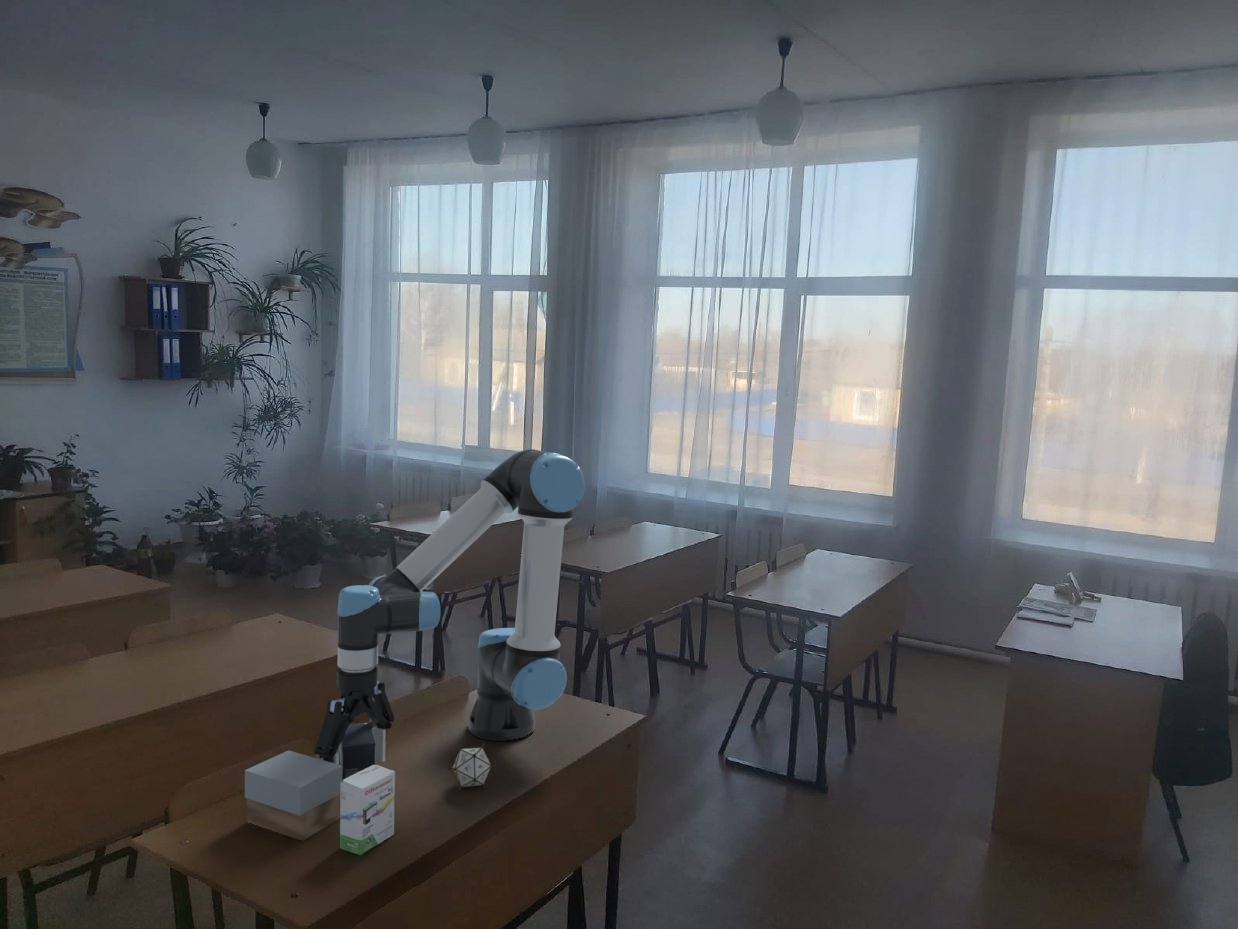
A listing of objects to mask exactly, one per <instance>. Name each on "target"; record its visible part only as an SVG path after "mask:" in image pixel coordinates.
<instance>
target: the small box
mask: <svg viewBox="0 0 1238 929" xmlns="http://www.w3.org/2000/svg"><path fill="white" fill-rule="evenodd" d="M337 754H339V765H341V766H342V782H343V780H344V779H346V778H348V777H350V776H351V775H354V774H356V773H358V772H360V771H362V770H364V769H366V768H368V767H370V766H372V765H376V760H375V739H374V736H373V732H372V726H371V723H370V721H368V722H367V721H365V722H359V723H350V724H349V726H348V728H347V730H346V732H345V735H344V737H343V739H342V741H341V743H340V745H339V747H338V749H337Z"/></svg>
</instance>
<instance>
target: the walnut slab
mask: <svg viewBox="0 0 1238 929" xmlns="http://www.w3.org/2000/svg"><path fill="white" fill-rule="evenodd" d="M339 820H340V794H339V795H337V796H335V797H333V798H331V799H329V800H328V801H326V802H324V803H322V804H320V805H319V806H317V807H315V808H313V809H311V810H310V811H308V812H306V813H304V814H303V815H301V816H299V815H296V814H293V813H290V812H287V811H284V810H281V809H278V808H275V807H272V806H269V805H265V804H262V803H259V802H256V801H253V800H250V799H247V798H246V823H247V822H249V823H252V824H254V825H253V826H255V825H258V826H260V827H259V828H261V827H262V829H264V828H266V829H265V830H267V829H269V830H268V831H270V830H272V831H271V832H273V833H277V832H278V833H277V834H281V835H284V836H286V835H287V837H290V838H292V839H296V840H298V841H302V842H304V841H306V840H307V839H308V838H311V837H312V836H313V835H315V834H317V833H319V832H321V831H322V830H323V829H325V828H327V827H328V826H330V825H332V824H333V823H335V822H336V821H339ZM249 823H248V824H249ZM252 824H251V825H252ZM258 826H257V827H258Z"/></svg>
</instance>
